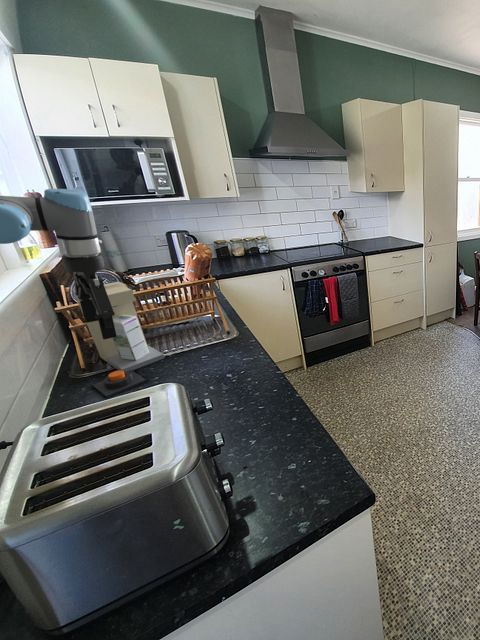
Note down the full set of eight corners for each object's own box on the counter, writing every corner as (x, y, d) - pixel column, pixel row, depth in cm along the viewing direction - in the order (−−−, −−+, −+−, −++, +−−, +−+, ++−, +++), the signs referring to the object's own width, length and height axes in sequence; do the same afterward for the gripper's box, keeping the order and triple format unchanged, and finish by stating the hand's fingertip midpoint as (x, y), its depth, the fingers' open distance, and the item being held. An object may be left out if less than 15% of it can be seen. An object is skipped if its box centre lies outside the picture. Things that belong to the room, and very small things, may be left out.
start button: (113, 383, 104) (111, 378, 103) (108, 379, 105) (106, 374, 105) (127, 377, 106) (125, 372, 106) (122, 373, 108) (120, 369, 107)
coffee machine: (123, 374, 112) (95, 303, 102) (100, 358, 120) (72, 290, 110) (165, 359, 122) (143, 292, 111) (141, 344, 130) (118, 281, 119)
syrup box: (150, 352, 121) (137, 314, 115) (135, 361, 116) (121, 322, 110) (135, 351, 122) (121, 313, 116) (120, 360, 116) (104, 321, 110)
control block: (107, 399, 101) (103, 390, 100) (93, 387, 105) (90, 379, 104) (147, 382, 109) (144, 374, 107) (132, 372, 113) (129, 365, 112)
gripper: (119, 264, 85) (135, 341, 93) (84, 242, 97) (101, 312, 105) (78, 268, 79) (99, 349, 87) (46, 244, 91) (67, 318, 99)
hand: (100, 329), depth 96 cm, fingers open, 13 cm apart
